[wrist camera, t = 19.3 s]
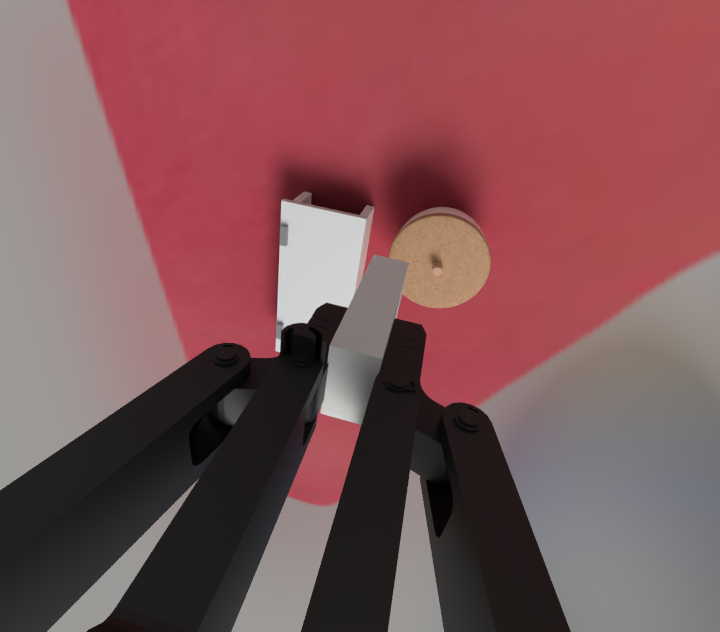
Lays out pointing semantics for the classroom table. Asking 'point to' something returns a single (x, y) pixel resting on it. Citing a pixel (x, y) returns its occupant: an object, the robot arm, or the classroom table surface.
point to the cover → (316, 260)
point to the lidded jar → (442, 257)
